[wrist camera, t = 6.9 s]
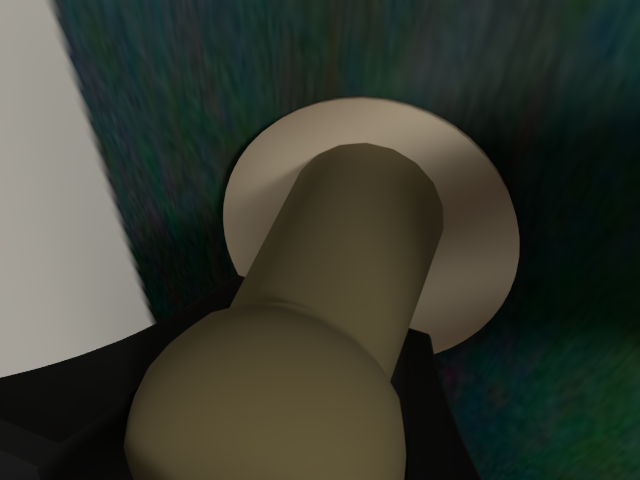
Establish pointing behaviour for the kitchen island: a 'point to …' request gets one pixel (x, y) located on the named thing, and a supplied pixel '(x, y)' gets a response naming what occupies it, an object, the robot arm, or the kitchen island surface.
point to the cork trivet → (439, 165)
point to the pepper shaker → (301, 338)
